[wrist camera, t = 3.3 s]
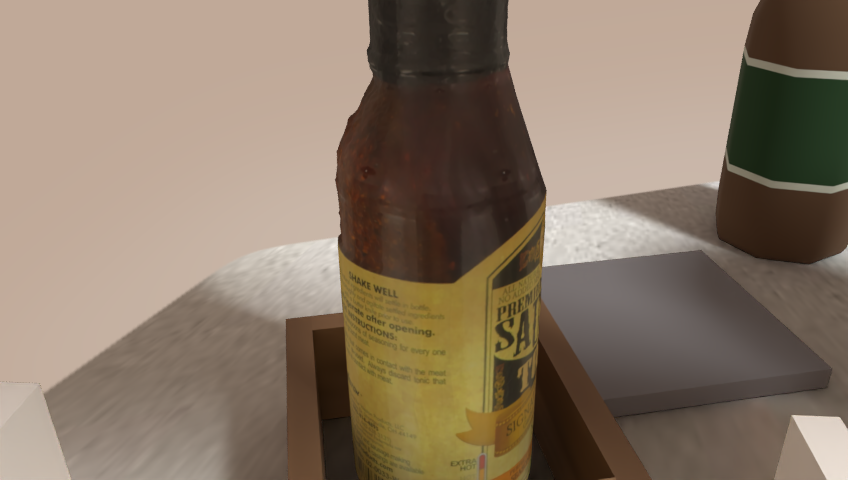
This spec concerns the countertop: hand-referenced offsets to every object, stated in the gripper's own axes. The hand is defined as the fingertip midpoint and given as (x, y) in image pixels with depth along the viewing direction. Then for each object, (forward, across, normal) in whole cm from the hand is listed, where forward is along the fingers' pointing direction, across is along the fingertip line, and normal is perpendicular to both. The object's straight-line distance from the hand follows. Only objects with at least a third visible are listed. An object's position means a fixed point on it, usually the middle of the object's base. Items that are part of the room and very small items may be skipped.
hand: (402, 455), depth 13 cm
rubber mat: (+21, +10, -11) cm, 25 cm away
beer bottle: (+31, +19, -11) cm, 38 cm away
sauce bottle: (+10, 0, -11) cm, 15 cm away
